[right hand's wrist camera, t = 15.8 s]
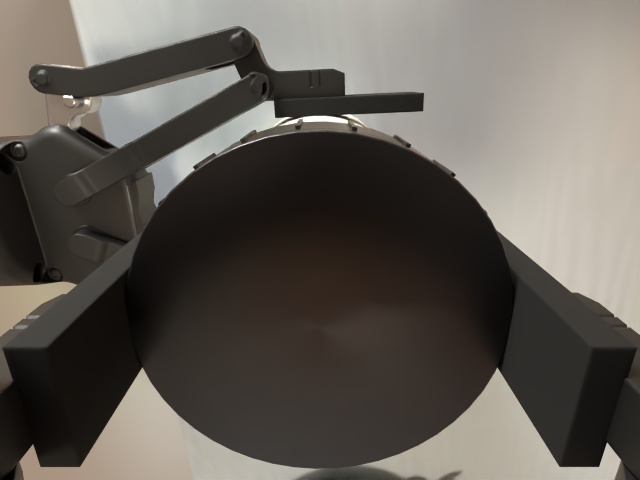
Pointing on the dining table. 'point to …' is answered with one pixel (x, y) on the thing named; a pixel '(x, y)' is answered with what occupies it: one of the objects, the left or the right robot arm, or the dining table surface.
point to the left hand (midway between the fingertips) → (412, 195)
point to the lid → (319, 296)
